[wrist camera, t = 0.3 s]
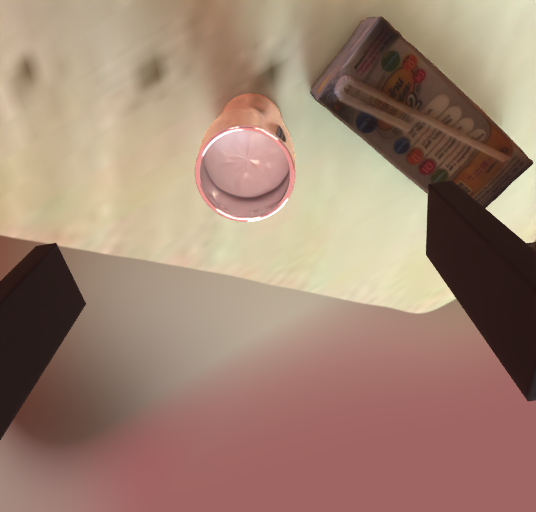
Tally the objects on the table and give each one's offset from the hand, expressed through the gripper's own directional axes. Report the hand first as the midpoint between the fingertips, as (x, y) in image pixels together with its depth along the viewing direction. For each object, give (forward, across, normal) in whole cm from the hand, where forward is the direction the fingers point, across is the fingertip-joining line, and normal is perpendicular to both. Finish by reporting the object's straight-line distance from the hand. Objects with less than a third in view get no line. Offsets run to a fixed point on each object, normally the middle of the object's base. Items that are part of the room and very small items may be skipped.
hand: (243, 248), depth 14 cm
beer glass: (+28, -1, -2) cm, 28 cm away
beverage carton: (+28, +14, -4) cm, 32 cm away
